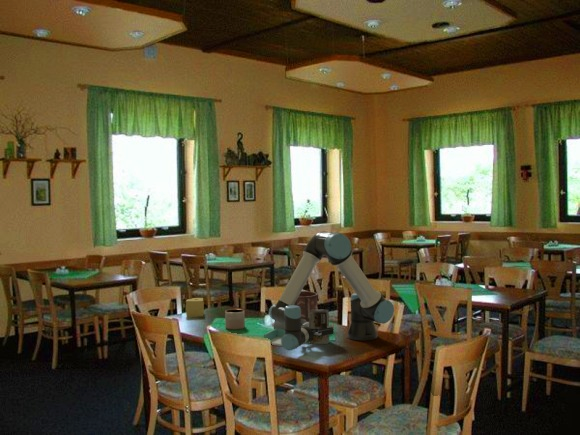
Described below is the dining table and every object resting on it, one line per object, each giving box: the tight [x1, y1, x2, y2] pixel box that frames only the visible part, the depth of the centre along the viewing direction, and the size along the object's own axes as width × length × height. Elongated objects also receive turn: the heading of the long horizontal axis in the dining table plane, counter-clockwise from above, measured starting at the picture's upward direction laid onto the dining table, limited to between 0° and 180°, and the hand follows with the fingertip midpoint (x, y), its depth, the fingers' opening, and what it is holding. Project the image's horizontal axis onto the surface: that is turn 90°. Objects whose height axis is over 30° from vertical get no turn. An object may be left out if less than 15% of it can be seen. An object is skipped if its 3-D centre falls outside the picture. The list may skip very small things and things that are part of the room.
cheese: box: [185, 297, 205, 318], centre depth 375 cm, size 10×11×10 cm
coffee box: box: [309, 308, 330, 345], centre depth 306 cm, size 9×6×16 cm
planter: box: [224, 308, 246, 331], centre depth 341 cm, size 11×11×10 cm
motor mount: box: [263, 319, 307, 347], centre depth 313 cm, size 19×24×12 cm
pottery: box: [294, 290, 319, 328], centre depth 343 cm, size 18×18×18 cm
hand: (320, 325), depth 308 cm, fingers open, 13 cm apart
